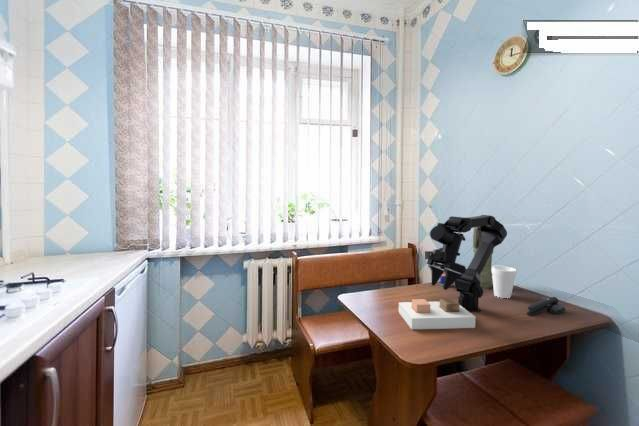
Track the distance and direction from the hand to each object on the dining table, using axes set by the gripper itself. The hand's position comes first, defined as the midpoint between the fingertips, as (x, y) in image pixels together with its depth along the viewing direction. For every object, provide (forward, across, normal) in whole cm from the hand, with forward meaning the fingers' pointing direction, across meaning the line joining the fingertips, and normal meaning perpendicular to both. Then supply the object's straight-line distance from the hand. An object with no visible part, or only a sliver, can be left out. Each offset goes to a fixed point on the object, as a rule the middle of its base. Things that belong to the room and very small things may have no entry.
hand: (438, 287), depth 108 cm
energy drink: (-2, -37, +22) cm, 43 cm away
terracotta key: (+11, -1, -3) cm, 12 cm away
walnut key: (+7, -1, +7) cm, 10 cm away
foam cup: (-6, -22, +41) cm, 47 cm away
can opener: (-4, -5, +46) cm, 47 cm away
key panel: (+12, -1, +3) cm, 12 cm away
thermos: (-8, -35, +39) cm, 53 cm away
